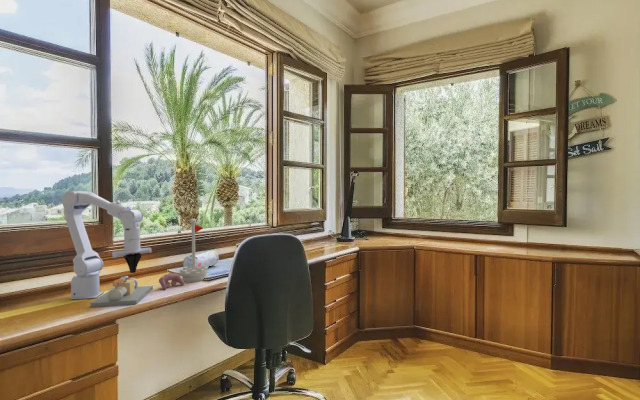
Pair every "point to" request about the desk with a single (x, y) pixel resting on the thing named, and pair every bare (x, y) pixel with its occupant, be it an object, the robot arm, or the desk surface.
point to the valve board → (124, 299)
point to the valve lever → (120, 281)
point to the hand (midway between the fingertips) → (132, 272)
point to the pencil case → (202, 259)
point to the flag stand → (194, 272)
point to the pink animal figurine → (167, 277)
